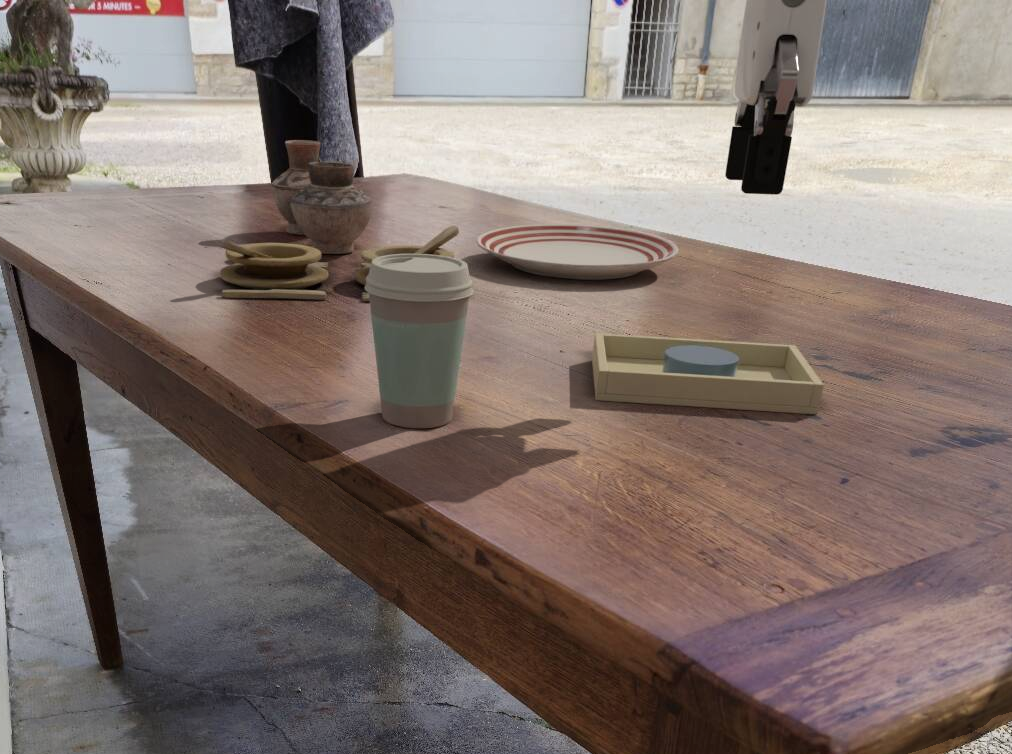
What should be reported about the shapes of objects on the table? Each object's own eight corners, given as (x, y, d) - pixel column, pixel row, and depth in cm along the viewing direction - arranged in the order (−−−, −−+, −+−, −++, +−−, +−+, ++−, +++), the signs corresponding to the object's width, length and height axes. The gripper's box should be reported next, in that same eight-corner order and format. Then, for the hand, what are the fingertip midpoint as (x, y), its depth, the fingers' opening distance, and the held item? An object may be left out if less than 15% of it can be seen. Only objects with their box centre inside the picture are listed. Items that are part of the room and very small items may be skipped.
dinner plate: (630, 297, 128) (634, 268, 127) (439, 267, 139) (439, 240, 137) (701, 264, 148) (706, 239, 146) (529, 240, 159) (531, 216, 157)
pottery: (331, 226, 162) (329, 138, 155) (384, 257, 144) (384, 158, 137) (260, 228, 159) (255, 138, 152) (304, 260, 140) (300, 158, 133)
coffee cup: (432, 397, 92) (436, 249, 85) (487, 425, 86) (496, 268, 79) (347, 410, 88) (344, 256, 81) (399, 440, 82) (400, 277, 75)
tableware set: (454, 270, 138) (455, 220, 135) (470, 303, 122) (472, 248, 119) (227, 265, 135) (223, 214, 132) (213, 299, 119) (208, 242, 116)
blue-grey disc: (729, 371, 101) (733, 347, 99) (739, 391, 95) (744, 367, 94) (658, 366, 101) (662, 343, 100) (664, 387, 95) (668, 362, 94)
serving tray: (789, 372, 103) (795, 345, 102) (816, 414, 92) (824, 384, 91) (591, 359, 104) (594, 332, 103) (595, 400, 93) (599, 370, 92)
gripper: (873, -82, 70) (817, 201, 80) (821, -62, 85) (779, 176, 94) (761, -84, 71) (719, 198, 81) (728, -64, 85) (695, 174, 95)
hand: (751, 186), depth 88 cm, fingers open, 9 cm apart
